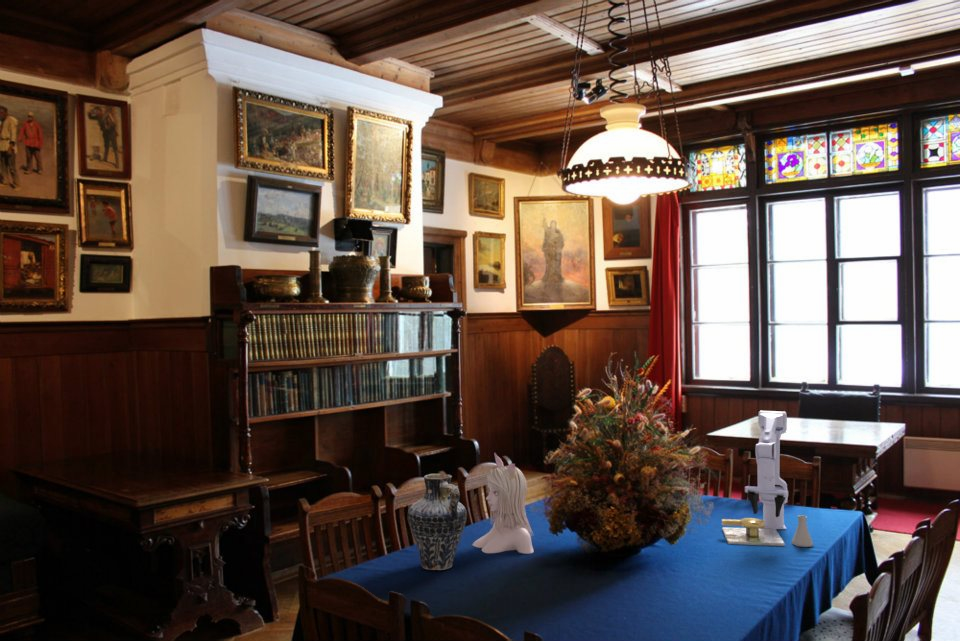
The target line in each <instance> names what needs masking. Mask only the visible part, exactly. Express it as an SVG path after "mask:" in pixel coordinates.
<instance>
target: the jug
mask: <svg viewBox="0 0 960 641" xmlns="http://www.w3.org/2000/svg"><path fill="white" fill-rule="evenodd" d="M452 478H453V476H452V475H451V474H448V473H447V474H443V473H439V472H438V473H429V474H426V475H424V476H423V481H424V484H425V493H424V495H423V497H422V498H420V499H419V500H417V501H415V502H413V504H412V505H411V506H410V507H409V508H408V511H407V522H408V525H409V528H410V532H411V534H412V536H413V538H414V541H415V543H416V544H415V545H416V546H417V549H418V553H419V562H420V565H421V568H423V569H425V570H429V571H445V570H448V569H450V568H452V567H453V566H454V560H455V556H456V553H457V549H458V545H459V543H460V541H461V538H462V535H463V532H464V530H465V526H466V523H467V517H468V513H467V509H466V507H465V506H464V505H463V504H462V503H461V502H460V498H461V497H460V496H461V495H460V494H461V493H460V489H459V487H458V486H456V485H454V484H452V483H451V481H452Z"/></svg>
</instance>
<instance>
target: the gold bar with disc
mask: <svg viewBox="0 0 960 641" xmlns="http://www.w3.org/2000/svg"><path fill="white" fill-rule="evenodd" d="M721 525H722V526H739V527H741V528H750V536H753V537H757V529H758V528H759V529H764V527H765V522H764V521H763V519H760V518H754V517H744V518H740V519H731V518H729V519H728V518H722V519H721Z"/></svg>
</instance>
